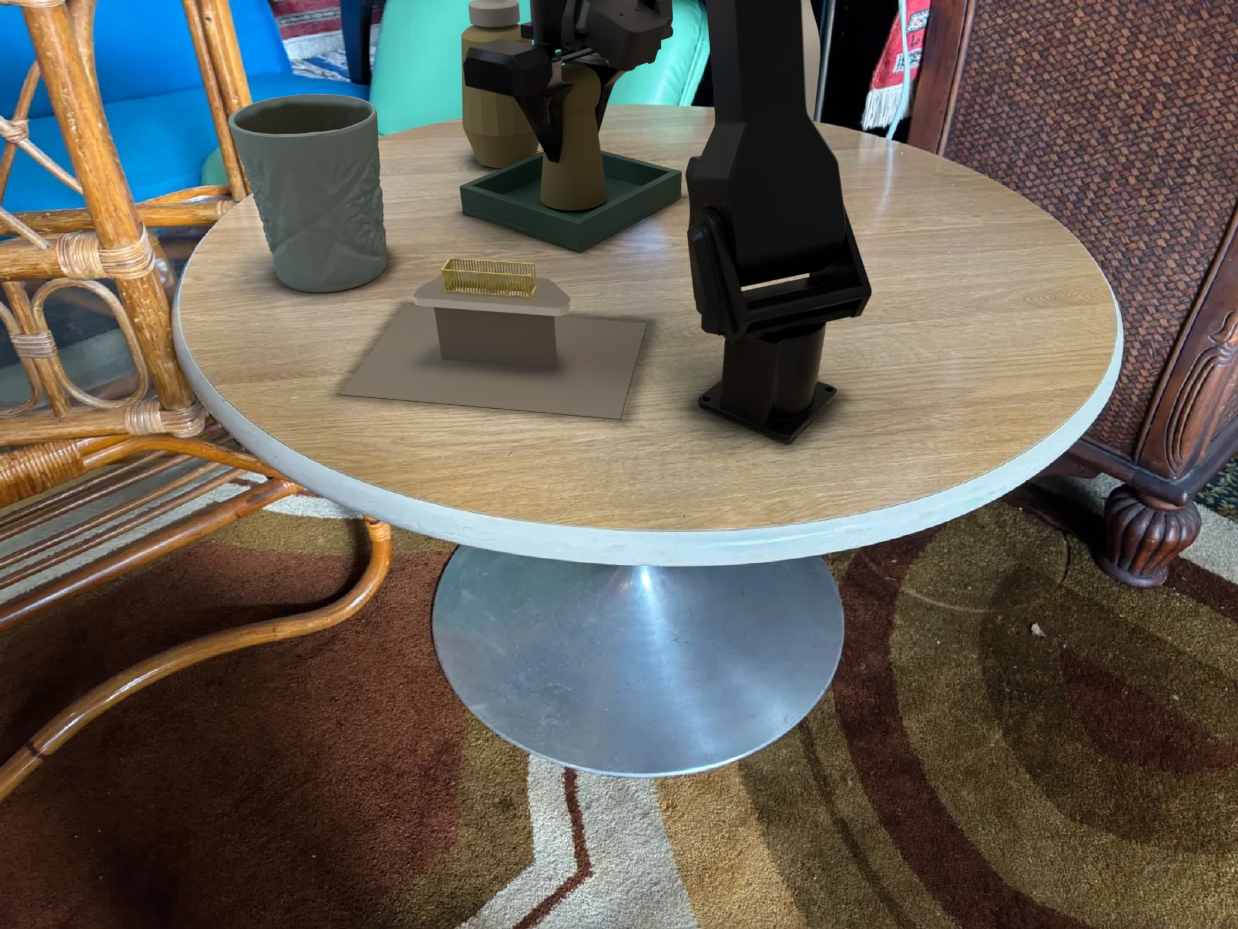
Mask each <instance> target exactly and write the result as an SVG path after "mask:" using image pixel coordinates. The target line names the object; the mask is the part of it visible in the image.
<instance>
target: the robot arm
mask: <svg viewBox="0 0 1238 929" xmlns="http://www.w3.org/2000/svg"><path fill="white" fill-rule="evenodd" d="M705 6H706V7H705V8H706V19H707V33H708V45H709V57H710V71H711V84H712V94H713V95H712V96H713V108H714V110H713V111H714V126H713V128H712V130H711V132H710V135H709V137H708V138H707V139H708V140H707V142H706V144H705V146H704V148H703V150H702V153H701V155H694V156H691V157H689V159H688V162H687V165H686V169H685V173H684V176H685V182H686V188H687V189H686V190H687V195H688V196H687V197H688V202H689V204H688V205H689V220H688V227H687V230H686V239H687V246H688V248H687V249H688V257H689V266H690V275H691V284H692V292H693V300H694V303H695V308H696V311H697V312H698V313H699V315H700V316H701V319H700V329H702V331H703V332H704V333H706V334H711V335H716V336H718V337H721V336H722V337H723V338H724V345H723V357H722V369H721V370H722V371H721V379H720V380H719V381H717V382H716V383H715V384H713V385H712V386H711V387H710V388H708V389H707V390H705V392H703V393H702V394H701V395H699V397H698V400H697V402H698V403H697V404H698V407H699V408H700V409H703V410H705V411H707V412H710V413H712V414H714V415H717V416H720V417H722V418H724V419H727V420H729V421H732V422H734V423H735V424H739V425H742V426H744V427H747V428H749V429H751V430H754V431H756V432H759V433H761V434H764V435H766V436H769V437H770V438H773V439H776V440H777V441H778V440H779V441H781V442H791V441H792V440H793V439H794V438H796V436H798V434H800V433H801V431H802V430H804V429H805V428H806V427H807V426H808V425H809V424H810V423H811V422H812V421H813V420H814V419H815V418H816V417H817V416H818V415H820V413H821V412H822V411H823V410H824V409H825V408H826V407H827V406H828V405H829V404H831V403H832V402H833V401H834V400H835V399H836V398H837V394H838V389H837V388H836V387H835V386H833V385H831V384H827V383H825V382H823V381H820V380H819V376H820V368H821V362H822V355H823V349H824V343H825V337H826V330H827V324H828V323H830V322H835V321H839V320H844V319H847V318H850V319H854V318H858V317H861V316H862V315H863V313H864V310H865V309H866V306H867V305H868V302H869V301H870V299H871V297H872V294H873V289H872V285H871V283H870V279H869V276H868V273H867V270H866V268H865V264H864V261H863V258H862V255H861V252H860V248H859V246H858V243H857V239H856V237H855V234H854V231H853V227H852V225H851V221H850V218H849V215H848V212H847V209H846V206H845V204H844V196H843V188H842V180H841V173H840V172H841V171H840V165H839V161H838V158H837V156H836V155H835V153H834V152H833V150H832V149H831V147H830V146H829V145H828V143H827V141H826V139H825V138H824V136H823V135H822V133H821V132H820V130H819V129H818V127H817V126H816V124H815V123H814V120H813V121H812V119H811V118H810V116H809V115H808V112H807V105H806V85H805V62H804V39H803V15H802V0H705ZM529 12H530V21H528V22H527V21H526V22H523V23H519V24H520V29H521V38H524V39H530V40H532V41H533V43H532V44H533V45H532V44H526V43H521V42H516V41H510V40H505V39H497V40H494V41H490V42H486V43H483V44H479V45H476V46H472V47H470V48H469V49H468V51H467V52H466V54H465V55H464V57H463V69H464V78H465V86H467V87H472V88H476V89H480V90H485V91H489V92H493V93H498V94H502V95H506V96H511V97H513V98H514V100H515V101H516V103H517V104H518V106H519V107H520V109H521V110H522V112H523V114H524V115H525V117H526V119H527V121H528V122H529V124H530V126H531V128H532V130H533V132H534V134H535V135H536V137H537V139H538V141H539V146H540V147H541V149H542V152H543V151H544V152H545V154H546V156H547V158H548V160H549V161H550V162H554V163H559V160H560V155H561V150H562V144H563V101H564V99H565V98H566V97H567V95H568V94H569V93H570V91H571V90H572V89H573V87H574V84H571V83H567V82H562V71H561V65H567V64H574V65H582V66H586V67H589V68H591V69H592V70H594V71H595V72H596V74H597V76H598V77H599V80H600V84H601V94H600V98H599V103H598V104H597V106H596V107H595V115H596V122H597V129H598V135H599V134H600V131H601V127H602V124H603V120H604V117H605V113H606V111H607V107H608V105H609V104H608V103H609V101H610V98H611V94H612V92H613V89H614V86H615V85H616V82H617V81H619V80H620V79H621V78H622V77H623V76H624V75H625V74H626V73H628V72H632V71H634V70H635V69H636V68H637V67H639V66H642V65H645V64H648V65H651V64H654V63H655V62H656V59H657V56H658V52H659V51H660V50H662V41H665V40H666V39H671V38H672V37H673V35H674V28H673V26H672V25H673V22H674V21H673V20H674V8H673V0H529ZM558 50H559V51H558ZM556 51H557V52H556ZM806 274H808V276H807V277H802V278H797V279H792V280H787V281H782V282H777V283H773V284H768V285H763V286H759V287H755V288H750V289H749V288H748V289H745V290H742V288H745V287H749V286H755V285H759V284H764V283H770V282H774V281H779V280H783V279H789V278H792V277H798V276H803V275H806Z"/></svg>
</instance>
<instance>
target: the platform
mask: <svg viewBox="0 0 1238 929" xmlns="http://www.w3.org/2000/svg"><path fill="white" fill-rule="evenodd" d="M440 271H441V275H439V276H437V277H436V278H435V277H434V278H433V279H432V280H430V281H427V282H425V283H424V284H422V285H420V286H418V288H417V289H416V290H415V291H414V293H413V302H414V305H408V304H406V305H404V307H403V308H402V309H401V311H400V312H399V313H398V315H397V316H396V317H395V319H394V320H393V322H391V324H390V326H389V327H388V329H387V330H386V331H385V333H384V334H383V335H382V337H380V339H379V341H378V342H377V343H376V345H375V347H373V349H372V351H371V352H370V353H369V354H368V356H367V357H366V359H365V360H364V361H363V362H362V364H361V365H360V367H359V368H358V370H357V371H356V372H355V374H354V375H353V377H352V378H351V380H350V381H349V382H348V383H347V385H346V386H345V387H344V388H343V390H342V392H341V393H340V395H343V396H355V397H367V398H377V399H378V398H379V399H389V400H390V399H391V400H400V401H411V402H421V403H432V404H433V403H434V404H437V403H438V404H445V405H457V406H468V407H480V408H489V409H490V408H491V409H502V410H514V411H523V412H524V411H525V412H536V413H547V414H557V415H558V414H559V415H570V416H583V417H590V418H591V417H593V418H602V419H603V418H604V419H605V418H606V419H616V420H621V416H622V413H623V410H624V406H625V404H626V400H627V395H628V392H629V388H630V385H631V381H632V377H633V375H634V370H635V365H636V362H637V359H638V357H639V352H640V349H641V346H642V341H643V338H644V334H645V331H646V327H647V322H636V321H624V320H623V321H621V320H609V319H596V318H595V319H594V318H584V317H583V318H580V317H570V316H569V317H568V316H566V315H567V314H568V312H569V310H570V308H571V297H570V296H569V295H568V294H567V293H566V292H565V291H564V290H563V289H562V288H560V287H559V286H558V285H557V284H556V283H555V282H554V281H553V280H552V279H550V278H547V277H537V275H536V274H537V273H536V264H535V262H522V261H521V262H520V261H507V260H506V261H505V260H491V259H477V258H463V257H462V258H461V257H460V258H459V257H449V258H448V259H447V260H446V262H445V264H444V265H443V266H442V268H441V269H440Z"/></svg>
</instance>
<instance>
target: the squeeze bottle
mask: <svg viewBox="0 0 1238 929" xmlns="http://www.w3.org/2000/svg"><path fill="white" fill-rule="evenodd" d="M467 7H468V17H469V18H468V19H469V23H470V26H468V27H467V28H465V29H464V30H463V32H462V33H461V35H460V38H461V41H460V42H461V43H460V44H461V46H460V47H461V49H460V50H461V114H462V117H461V118H462V121H461V122H462V128H463V131H464V133H465V136H466V137H467V140H468V142H469V145H470V147H471V149H472V152H473V154H474V156H475V158H476V161H477V162H478V163H479V164H480V165H482V166H486V167H489V168H496V169H502V168H504V167H507V166H509V165H512V164H514V163H517V162H519V161H521V160H524V159H526V158H529V157H531V156H533V155H536V154H538V149H539V146H540V143H539V141H538V139H537V137H536V135H535V134H534V132H533V130H532V128H531V126H530V124H529V122H528V121H527V119H526V117H525V115H524V114H523V112H522V110H521V109H520V107H519V106H518V104H517V103H516V101H515V100H514V98H513V97H511V96H506V95H502V94H498V93H493V92H489V91H485V90H480V89H476V88H472V87H467V86H465V78H464V69H463V57H464V55H465V54H466V52H467V51H468V49H469V48H470V47H472V46H476V45H479V44H483V43H486V42H490V41H494V40H497V39H505V40H510V41H516V42H521V43H526V44H532V45H534V43H533V40H530V39H524V38H521V29H520V24H521V23H520V21H521V13H520V11H521V10H520V3H519V1H518V0H471V1H470V2H468V3H467Z"/></svg>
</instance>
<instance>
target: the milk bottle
mask: <svg viewBox="0 0 1238 929" xmlns="http://www.w3.org/2000/svg"><path fill="white" fill-rule="evenodd" d="M802 15H803V39H804V62H805V85H806V105H807V112H808V115H809V116H810V118H811V119H812V121H813V122H814V117H815V111H816V101H817V94H818V93H817V92H818V85H819V75H820V74H819V72H820V64H821V63H820V62H821V41H820V34H819V29H818V25H817V22H816V19H815V14H814V11H813V6H812V4H811V0H802Z"/></svg>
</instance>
